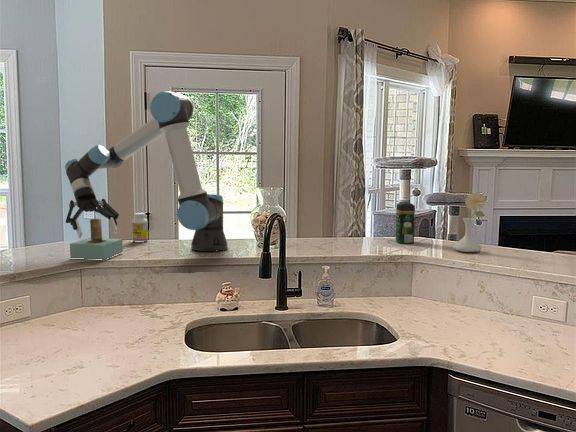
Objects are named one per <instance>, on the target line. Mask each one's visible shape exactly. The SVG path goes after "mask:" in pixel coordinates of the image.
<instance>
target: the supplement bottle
mask: <svg viewBox="0 0 576 432" xmlns="http://www.w3.org/2000/svg"><path fill="white" fill-rule="evenodd" d="M133 216H134V218H133V219H132V222H131V224H132V225H131V226H132V242H133V241H147V242H148V241H149V229H148V227H149V226H148V225H149V224H148V223H149V221H148V219H147V218H146V213H144V212H135V213H134V214H133Z"/></svg>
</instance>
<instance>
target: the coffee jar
mask: <svg viewBox="0 0 576 432" xmlns="http://www.w3.org/2000/svg"><path fill="white" fill-rule="evenodd" d="M395 210H396V212H395V213H396V214H395V215H396V216H395V241H396V242H397V243H398V244H404V245H409V244H414V242H415V216H416V215H415V213H416V205H414V204H413V203H410V202H409V201H400V202H398V203H397V204H396V209H395Z"/></svg>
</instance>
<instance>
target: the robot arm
mask: <svg viewBox="0 0 576 432" xmlns="http://www.w3.org/2000/svg"><path fill="white" fill-rule="evenodd" d="M149 109H150V110H149V111H150V114H151V116H152V119H151V120H149V121H147V122H146V123H144V124H143V125H142V126H140V127H138V128H137V129H136V130H134V131H133V132H131V133H130V134H128V135H127V136H126V137H124V138H123V139H121V140H120V141H119V142H117V143H115V144H114V145H113V146H111V147H110V148H108V149H107V148H105V146H102V145H101V144H96V145H94V146H93V147H92V148H90V149H89V150H88V151H87V152H86V153H85V154H84V155H83V156H82V157H80V159H79V158H72V159H71V160H68V161H67V162H66V163H65V165H64V168H65V174H66V176H67V179H68V181H69V184H70V187H71V190H72V193H73V195H74V199H75V201H74V200H73V199H70V201H69V204H68V207H69V210H68V213H67V214H66V215H67V216H66V219H65V224H70V226H71V227H72V229H73V230H74V231H76V234H77V237H78V238H79V239H80V238H82V236H83V231H82V228H81V226H80V223H79V220H78V218H79V217H80V216H81V214H82V213H83V212H85V213H88V212H95V213H97V214H98V213H99V215H101V216H102V217H105V218H106V219H108V220H109V221H108V222H109V225H110V228H111V230H112V232H113V233H112V234H113V235H117V232H118V230H119V229H118V227H117V225H118V221H117V220H118V218H119V216H120V214H119V213H118V212H117V210H115V209H114V208H113V207H112V206H111V205H110V204H109V203H107V200H106V199H105V198H102V199H100V200H98V199H97V197H96V194H95V191H94V188H93V185H92V183H91V181H90V177H91V176H92V175H93V174H94V173H95V172H96V171H98V169H115V168H120V167H122V165H123V164H124V162H125V161H126V160H128V159H129V158H130V157H132V156H133V155H135V154H136V153H138V152H139V151H140V150H142V149H144V148H145V147H146V146H147V147H148V146H149V145H150V144H151V143H154V141H156V140H157V139H159V138H160V137H161V136H162V137H163V135H165V139H166V142H167V147H168V149H169V150H168V151H169V155H170V159H171V162H172V166H173V171H174V175H175V179H176V182H177V186H178V190H179V195H178V197H177V203H178V208H177V212H176V213H177V214H176V215H177V220H178V222H179V224H180V226H183V228H185V229H187V230H190V231H194V234H193V237H192V239H191V245H190V247H191V248H190V249H191V250H192V249H193V250H192V251H194V250H198V251H197V252H199V251H216V250H223V251H225V250H224V249H226V250H228V245H229V244H228V241H227V237H226V235H225V231H224V198H223V195H221V194H213V193H209V194H208V191H206V190H205V189H204V188H203V187H202V184H201V179H200V177H199V176H200V175H199V172H198V168H197V165H196V164H197V163H196V159H195V156H194V151H193V149H192V148H193V147H192V145H191V140H190V136H189V133H188V127H189V125H190V120H191V118H192V117H193V114H194V104H193V102H192V100H191V99H190V98H189V97H188V96H186V95H184V94H181V93H176V92H174V91H169V90H167V91H166V90H165V91H160V92H158V93H156V94H155V95H154V96H153V97H152V99H151V101H150V105H149ZM75 207H78V210H77V211H76V212H75V214H74V215H73V217H71V216H72V213H73V209H74V208H75ZM216 252H217V251H216Z"/></svg>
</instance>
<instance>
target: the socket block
mask: <svg viewBox="0 0 576 432" xmlns="http://www.w3.org/2000/svg"><path fill="white" fill-rule="evenodd" d="M123 247H124V246H123V239H122V238H105V237H102V242H101V243H91V237H88V238H84V239H82V240H78V241H75V242H71V243H69V254H70V255H69V257H70V258H84V259H102V260H105V259H107V258H110V257H112V256H114V255H116V254H119V253H121V252H123V251H124V249H123Z"/></svg>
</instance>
